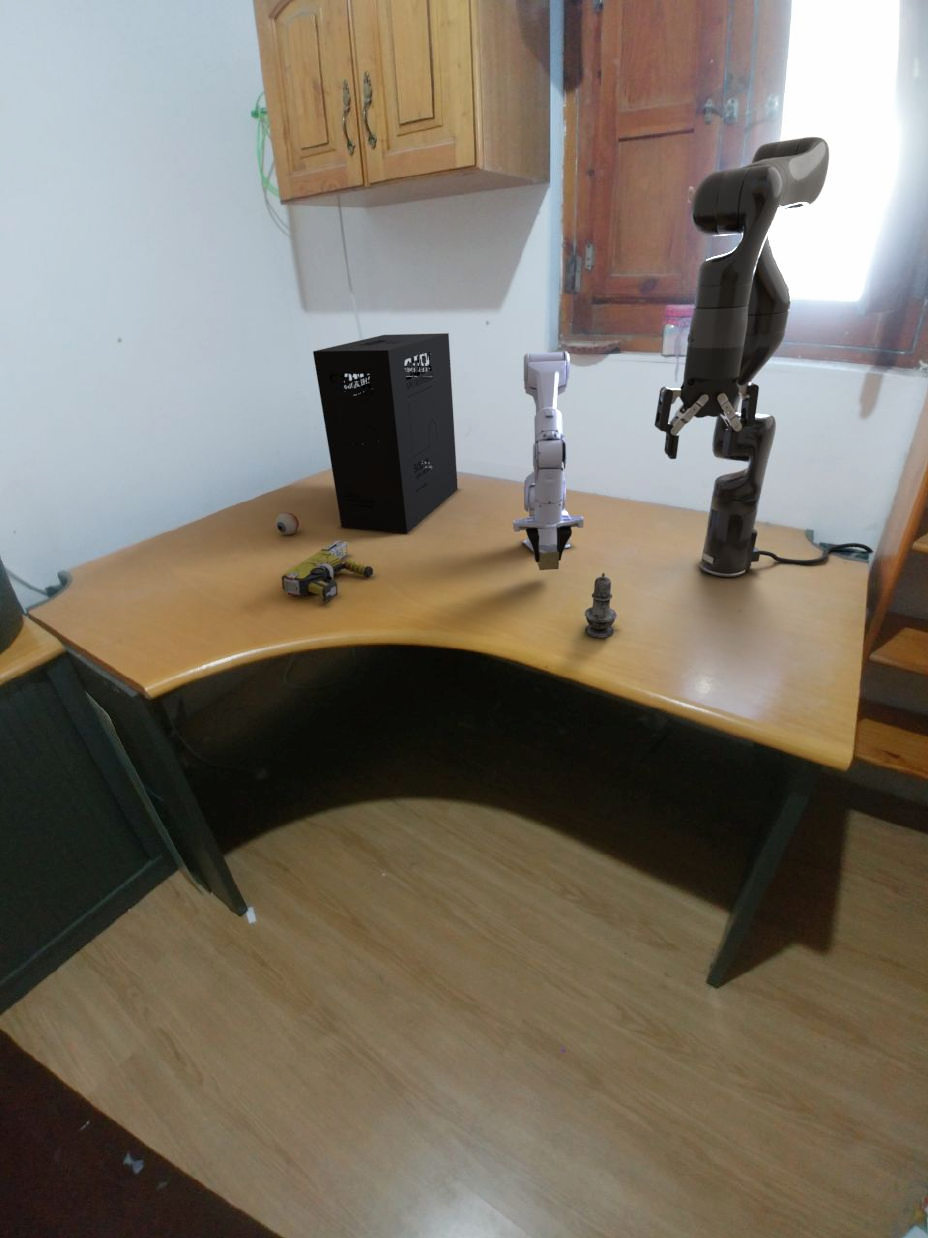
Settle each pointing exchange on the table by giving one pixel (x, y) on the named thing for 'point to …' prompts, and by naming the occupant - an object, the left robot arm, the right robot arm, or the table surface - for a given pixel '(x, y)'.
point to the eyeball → (287, 523)
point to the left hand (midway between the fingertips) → (547, 559)
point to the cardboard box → (389, 428)
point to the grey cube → (548, 557)
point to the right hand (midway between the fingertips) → (699, 456)
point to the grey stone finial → (600, 610)
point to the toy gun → (321, 572)
